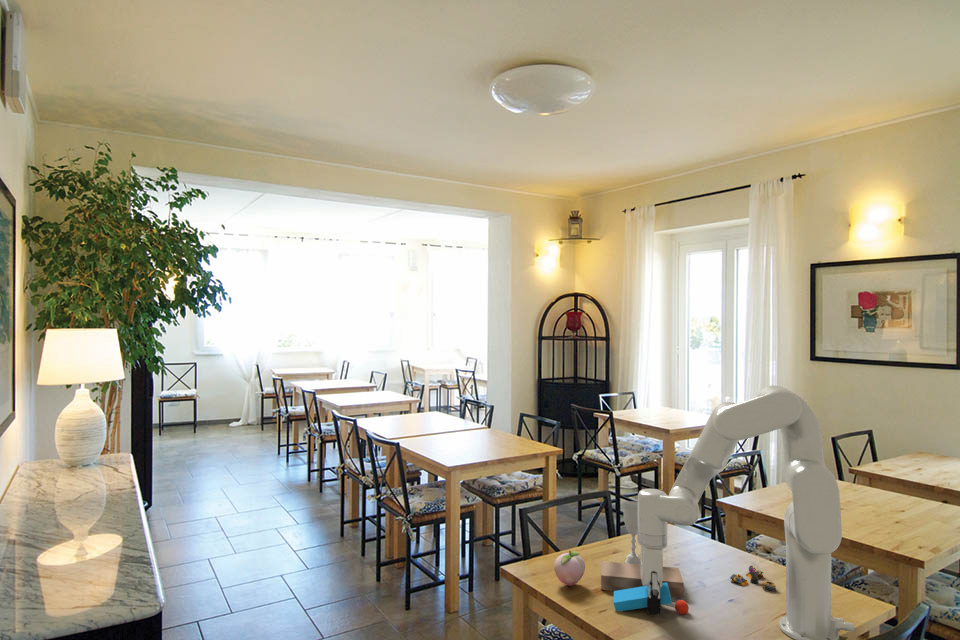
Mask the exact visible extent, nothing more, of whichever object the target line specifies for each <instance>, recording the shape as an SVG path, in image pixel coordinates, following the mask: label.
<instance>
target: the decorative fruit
mask: <svg viewBox="0 0 960 640" xmlns="http://www.w3.org/2000/svg"><path fill="white" fill-rule="evenodd" d="M580 555H581V553H580V552H578V551H577V550H569V552H564V553H562V554H560V555H559V556H557V558H556V559H555V561H554V565H553V566H554V567H553V568H554V569H553V570H554V573H555V575H556V576H555V577H557V578H558V580H559V581H560V582H561V583H563V584H564V585H566V586H569V587H571V586H574V585H576V584H577V583H578V582H579V581H581V579H582V577H583V576H584V573H585V570H586V563H585V561H584V560H583V558H582V557H581V556H580Z"/></svg>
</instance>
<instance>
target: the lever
mask: <svg viewBox="0 0 960 640" xmlns="http://www.w3.org/2000/svg"><path fill="white" fill-rule="evenodd" d="M659 589H660V598H661V606H664V607H665V606H666V607H670V608H673V609H675V612H677V613H678V614H679V615H683V616H684V615H686V614H687V613H688V612H689V605H688V603H687V602H686V601H685V600H682V599H679V600H677V601H675V602H672V596H670V591H669V587H668V584H667V583H662V587H661V588H659ZM651 590H652V588H651ZM647 597H648V586H645V587H644V586H642V587H636V588H630V589H624V590H618V591H613V602H612V603H613V606H614V610H615V611H616V612H626V611H632V610H637V609H643V608H644V609H645V608H647Z"/></svg>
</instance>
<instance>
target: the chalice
mask: <svg viewBox="0 0 960 640" xmlns="http://www.w3.org/2000/svg"><path fill="white" fill-rule="evenodd" d="M621 505H622V507H623V521H624V525H625V527H626V530H627V532H628V534H629V535H631V539H630V542H631V545H630V548H631V552H630V553H628V554H627V556H626V558H625V561H624V563H628V564H639V565H641V557H640V556H639V555H638V554H637V553H636V551H635V550H636V548H637V546H636V542H637V540H636V535H637V536H638V501H632V500H629V501H623V502H622V503H621Z"/></svg>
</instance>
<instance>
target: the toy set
mask: <svg viewBox="0 0 960 640" xmlns="http://www.w3.org/2000/svg"><path fill="white" fill-rule="evenodd" d="M763 574H764V571H762V570H759V569H756V568H755V566H753V565H749V566H748V573H746V574H745V575H746V577H748V578H749V580H750V581H748V579H746V578H744V576H743V575H741V574H739V573H737V574H736V573H732V575H731V576H730V577H729V579H730V580H731V581H730V583H732V584H733V583H734V584H735V583H736V584H737V585H739V586H742V587H745V586H749V585H750V584H752V585H759V580H764V578H765V576H764V575H763ZM776 587H777V586H776V584H775V583H774V582H773V581H770V580H765V581H764V582H763V581H762V583H761V588H762V589H763V591H765V592H772V593H777V588H776Z"/></svg>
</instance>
